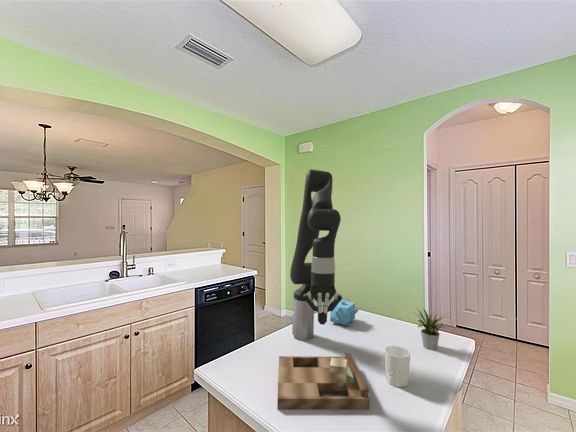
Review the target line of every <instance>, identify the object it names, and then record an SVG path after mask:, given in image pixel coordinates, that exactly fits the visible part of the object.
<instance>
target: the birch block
mask: <svg viewBox="0 0 576 432" xmlns="http://www.w3.org/2000/svg"><path fill="white" fill-rule="evenodd" d="M330 357H331V362H330V381H332V382H338V383H344V384H346V378H347V360H346V359H339V358H332V357H333V356H330Z"/></svg>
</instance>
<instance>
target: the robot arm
mask: <svg viewBox="0 0 576 432" xmlns="http://www.w3.org/2000/svg"><path fill="white" fill-rule="evenodd" d="M312 193H315V194H314V195H313V197H312ZM332 195H333V175H332V173H331V172H329V171H325V170H319V169H311V168H310V169H308V171H307V172H306V175H305V181H304V191H303V199H302V208H301V214H300V220H299V223H298V224H299V225H298V231H297V237H296V238H297V239H296V244H295V249H294V254H293V257H292V261H291V267H290V274H289V277H290V281H291V283H292V284H293V285H301V286H300V287H299V288H298V289H296V290H295V291H294V292H293V313H292V327H291V328H292V331H291V332H292V335H293V336H292V337H293V338H294V339H296V340H299V341H310V340H312V339H313V338H314V336H315V334H314V333H315V331H314V330H315V329H314V327H315V312H316V313H317V322H318V323H319V324H320V325H323V326H324V325H326V323H328V313H330V311H333V310H334V308H335V307H336V306H337V305H338V303H339V302H340V301H341V300H342V299H343V296H342V295H341V294H340V293H338V292H337V290H336V287H335V284H336V283H335V281H336V280H335V277H336V276H335V275H336V274H335V273H336V272H335V271H336V262H335V261H336V260H335V244H336V238H337V233H338V230H339V227H340V225H341V214H340V212H339V210H337V209H334V206H333V202H332V201H333V200H332ZM320 231H321V232H322V231H326V232H327V231H328V234H326V235H325V236H322V237H319V235H320ZM311 250H312V259H311V262H306V258H307V256H308V254H309V253H310V251H311ZM331 300H332V301H331ZM315 301H316V305H315ZM329 301H330V302H331V304H330V305H329Z"/></svg>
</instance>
